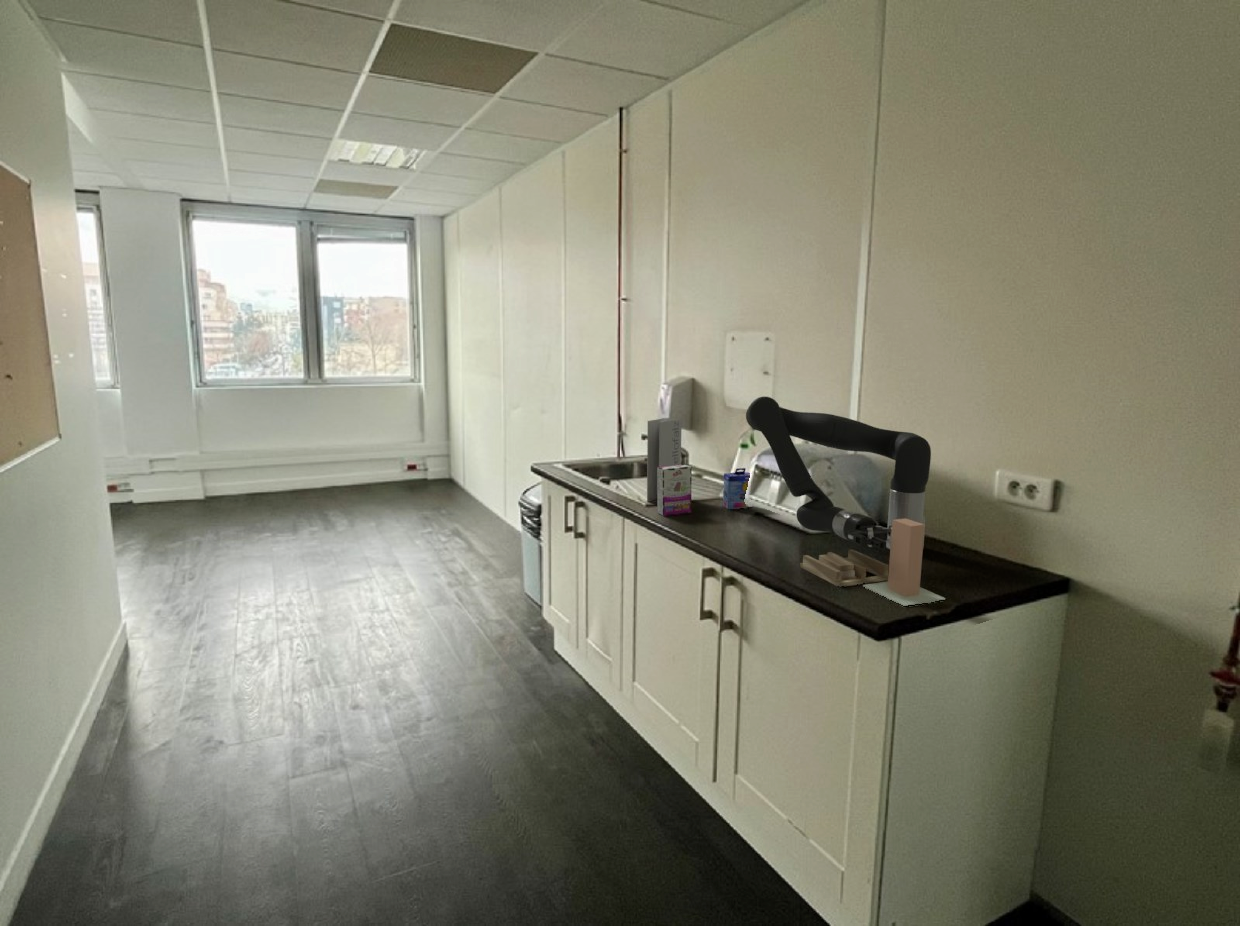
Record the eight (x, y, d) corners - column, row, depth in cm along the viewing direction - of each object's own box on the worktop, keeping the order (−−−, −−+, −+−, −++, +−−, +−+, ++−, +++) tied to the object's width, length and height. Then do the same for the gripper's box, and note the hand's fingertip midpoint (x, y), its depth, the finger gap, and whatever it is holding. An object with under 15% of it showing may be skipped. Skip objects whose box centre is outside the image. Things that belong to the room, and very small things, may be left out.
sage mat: (902, 581, 176) (902, 579, 176) (945, 600, 163) (945, 598, 163) (862, 586, 172) (863, 584, 172) (904, 607, 159) (904, 605, 159)
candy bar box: (684, 510, 248) (685, 464, 245) (691, 513, 243) (692, 466, 240) (656, 513, 243) (656, 466, 240) (662, 516, 239) (663, 468, 236)
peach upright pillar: (900, 586, 171) (905, 518, 168) (919, 594, 165) (924, 524, 162) (887, 588, 169) (892, 519, 166) (905, 596, 164) (911, 526, 161)
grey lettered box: (659, 504, 256) (660, 422, 251) (646, 502, 259) (647, 421, 254) (680, 497, 267) (681, 418, 262) (668, 495, 270) (669, 417, 265)
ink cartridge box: (727, 509, 248) (729, 469, 245) (721, 506, 253) (722, 466, 250) (753, 508, 250) (755, 468, 248) (747, 504, 255) (748, 465, 253)
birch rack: (848, 560, 192) (849, 548, 191) (890, 579, 177) (891, 566, 176) (799, 566, 187) (800, 554, 186) (839, 587, 172) (840, 573, 171)
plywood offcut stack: (831, 568, 187) (831, 553, 186) (856, 582, 176) (857, 565, 175) (816, 569, 185) (817, 554, 185) (840, 583, 175) (841, 567, 174)
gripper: (832, 515, 180) (876, 531, 165) (877, 510, 185) (923, 525, 170) (830, 543, 181) (874, 562, 166) (875, 538, 186) (921, 555, 171)
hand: (899, 544), depth 168 cm, fingers open, 8 cm apart
